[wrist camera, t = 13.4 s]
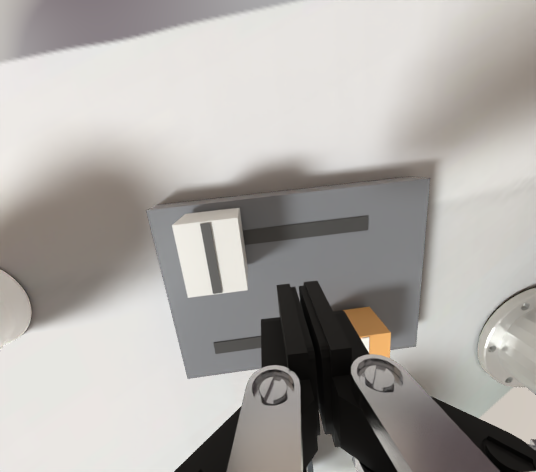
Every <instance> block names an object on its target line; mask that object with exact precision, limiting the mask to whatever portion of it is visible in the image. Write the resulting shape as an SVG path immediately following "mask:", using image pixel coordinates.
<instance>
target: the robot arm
mask: <svg viewBox="0 0 536 472" xmlns="http://www.w3.org/2000/svg"><path fill="white" fill-rule="evenodd" d="M277 295H278V305H279V315H280V317H276V318H267V319H261V365H262V368H261V369H259V370H258V371H256V372H255V373H254V374H253V375H252V376H251V377H250V378H249V380H248V383H247V385H246V389H245V394H244V398H243V402H242V406H241V407H240V408H239V409H238V410H237V411H236V412H235V413H234V414H233V415H232V416H231V417H230V418H229V419H228V420H227V421H226V422H225V423H224V424H223V425H222V426H221V427H220V428H219V429H217V430H216V431H215V432H214V433H213V434H212V435H211V436H210V437H209V438H208V439H207V440H206V441H205V442H204V443H203V444H202V445H201V446H200V447H199V448H198V449H197V450H196V451H195V452H194V453H193V454H192V455H191V456H190V457H189V458H188V459H187V460H186V461H185V462H184V463H183V464H181V465H180V466H179V467H178V468H177V469H176V470H175V471H174V472H308V470H307V466H308V464H309V463H310V461H311V460H312V458H313V457H314V455H315V453H316V452H317V450H318V446H317V435H320V422H319V412H320V416H321V420H322V424H323V428H324V431H325V434H332V438H333V441H334V445H335V447H341V448H342V449H344V450H345V451H346V452H348V453H349V454H350V455H352V456H353V463H354V466H355V469H356V471H357V472H536V440H534V439H531V441H530V445H529V444H526V443H525V442H524V441H522V440H521V439H519V438H517V437H516V436H514V435H512V434H510V433H508V432H506V431H504V430H502V429H500V428H498V427H496V426H493V425H491V424H489V423H487V422H485V421H483V420H481V419H478V418H476V417H474V416H472V415H470V414H468V413H466V412H463V411H461V410H459V409H457V408H455V407H453V406H451V405H448V404H446V403H444V402H442V401H440V400H438V399H436V398H433V397H431V396H429V394H428V393H427V392H426V391H425V390H424V389H423V388H422V387H421V386H420V385H419V384H418V383H417V382H416V380H415V379H414V378H413V377H412V376H411V375H410V374H409V373H408V372H407V371H406V370H405V369H404V368H403V367H402V366H401V365H400V364H399V363H397V362H396V361H394V360H392V359H390V358H388V357H385V356H382V355H375V354H369V352H368V350H367V349H366V347H365V345H364V344H363V342H362V340H361V338H360V337H359V335H358V333H357V332H356V330H355V328H354V327H353V325H352V323H351V322H350V320H349V318H348V316H347V315H346V313H345V312H344V311H343V310H339V311H333V310H332V308H331V306H330V304H329V302H328V300H327V298H326V296H325V295H324V293H323V291H322V289H321V287H320V285H319V283H318V281H308V282H304V284H303V286H299V295H300V301H299V297H298V294H297V291H296V287H290V284H281V285H277ZM478 359H479V363H480V364H481V366H482V368H483V369H484V370H485V371H486V372H487V373H488V374H489V375H490V376H491V377H492V378H493V379H495V380H496V381H497V382H499V383H501V384H503V385H506V386H511V387H527V388H528V389H529V390H530V391H531V392H533V393H534V394H535V395H536V288H533V289H529V290H526V291H524V292H522V293H520V294H518V295H516V296H514V297H513V298H511V299H510V300H508V301H507V302H505V303H504V304H503V305H502V306H501V307H500V308H498V309H497V310H496V311H495V313H494V314H493V315H492V316H491V317H490V318H489V320H488V321H487V323H486V324H485V326H484V328H483V330H482V332H481V335H480V337H479V342H478Z"/></svg>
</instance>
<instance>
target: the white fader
mask: <svg viewBox="0 0 536 472" xmlns="http://www.w3.org/2000/svg"><path fill="white" fill-rule="evenodd" d="M172 228H173V233H174V237H175V242H176V246H177V251H178V255H179V260H180V264H181V269H182V274H183V278H184V283H185V287H186V292H187V296H188V298H191V297H198V296H206V295H214V294H222V293H230V292H237V291H245V290H248V266H247V259H246V252H245V244H244V237H243V230H242V222H241V215H240V208H232V209H223V210H214V211H206V212H197V213H188V214H185V215H184V216H182V217H181V218H180V219H179V220H178V221H176V222H175V223H174V224H173V225H172Z"/></svg>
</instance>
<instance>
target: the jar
mask: <svg viewBox="0 0 536 472" xmlns="http://www.w3.org/2000/svg"><path fill="white" fill-rule="evenodd" d="M31 315H32V310H31V304H30V301H29V298H28V296H27V294H26V292H25V291H24V289H23V288H22V286H21V285H20V284H19V283H18V282H17V281H16V280H15V279H14V278H12V277H11V276H10V275H8V274H7V273H6V272H4V271H2V270H0V351H1V349H2V347H3V345H6V344H9V343H11V342H13V341H15V340H16V339H18V338H19V337H20V336H21V335H22V334H23V333H24V332H25V331H26V329H27V328H28V326H29V324H30V321H31Z"/></svg>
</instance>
